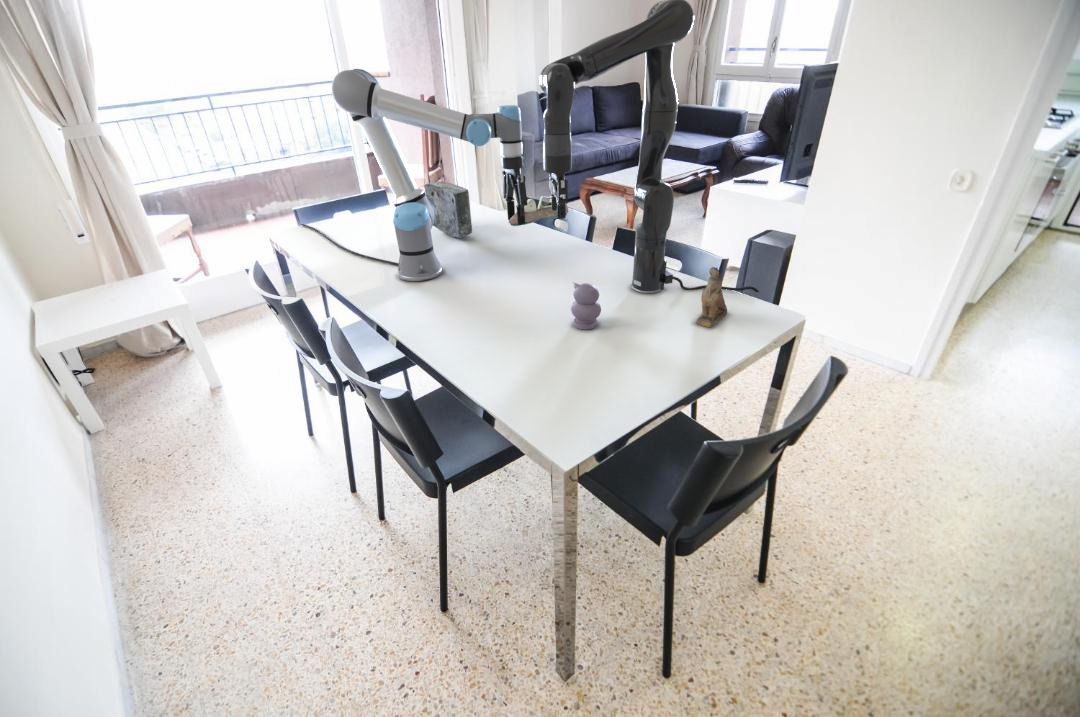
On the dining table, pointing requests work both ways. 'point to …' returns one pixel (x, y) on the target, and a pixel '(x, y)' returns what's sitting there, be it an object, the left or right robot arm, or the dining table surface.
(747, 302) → the dining table surface
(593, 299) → the cat figurine
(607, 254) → the dining table surface
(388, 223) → the dining table surface
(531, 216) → the speckled felt slipper
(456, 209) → the concrete block
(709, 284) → the worn brown figurine
